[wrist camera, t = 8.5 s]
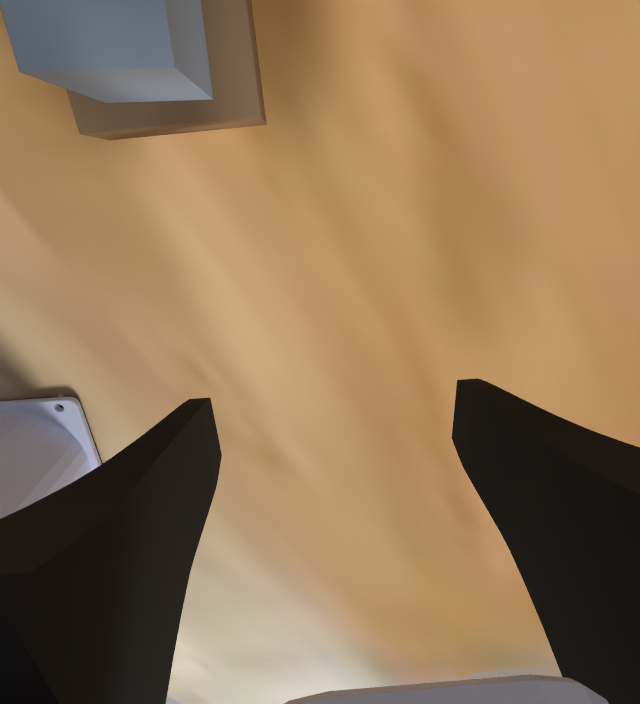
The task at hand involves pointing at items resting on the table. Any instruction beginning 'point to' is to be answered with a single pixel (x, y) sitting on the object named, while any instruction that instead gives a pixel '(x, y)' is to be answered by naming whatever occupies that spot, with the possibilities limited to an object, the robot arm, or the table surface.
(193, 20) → the blue block
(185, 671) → the table surface
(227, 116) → the walnut pedestal
